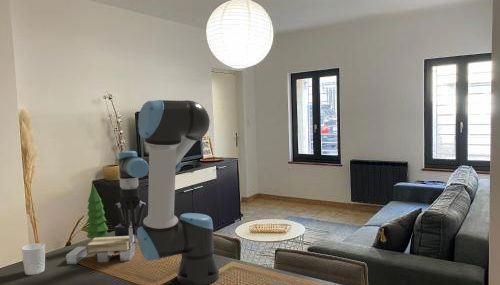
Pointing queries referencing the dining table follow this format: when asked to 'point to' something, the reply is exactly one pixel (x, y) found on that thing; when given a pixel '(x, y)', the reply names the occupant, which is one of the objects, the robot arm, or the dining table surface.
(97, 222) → the decorative tree
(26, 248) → the white cup
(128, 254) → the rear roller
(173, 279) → the dining table surface
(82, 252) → the grey marble block
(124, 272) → the dining table surface
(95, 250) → the oak slab
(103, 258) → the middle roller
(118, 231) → the small box
